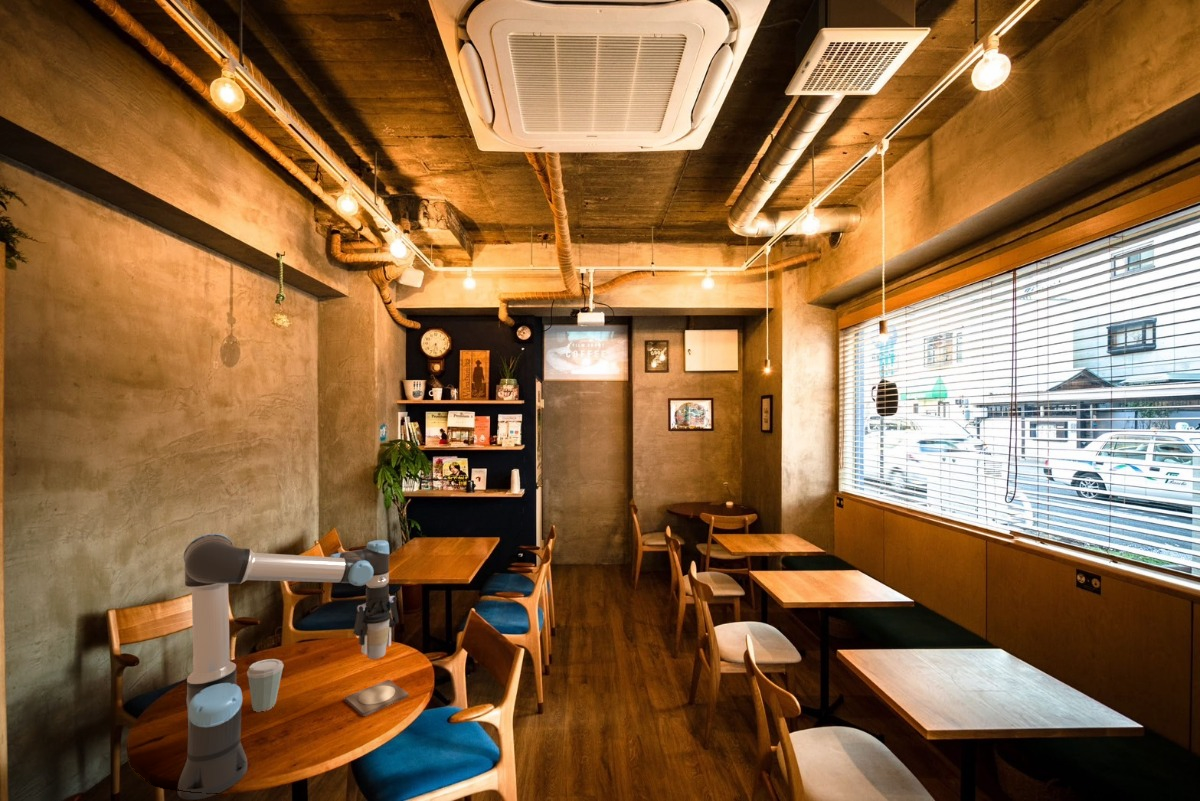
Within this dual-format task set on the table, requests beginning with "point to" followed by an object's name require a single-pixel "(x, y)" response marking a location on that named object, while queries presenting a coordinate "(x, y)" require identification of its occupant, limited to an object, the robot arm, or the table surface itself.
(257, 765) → the table surface
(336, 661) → the table surface
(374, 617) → the coffee cup
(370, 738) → the table surface
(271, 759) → the table surface
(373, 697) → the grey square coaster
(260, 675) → the disposable coffee cup
